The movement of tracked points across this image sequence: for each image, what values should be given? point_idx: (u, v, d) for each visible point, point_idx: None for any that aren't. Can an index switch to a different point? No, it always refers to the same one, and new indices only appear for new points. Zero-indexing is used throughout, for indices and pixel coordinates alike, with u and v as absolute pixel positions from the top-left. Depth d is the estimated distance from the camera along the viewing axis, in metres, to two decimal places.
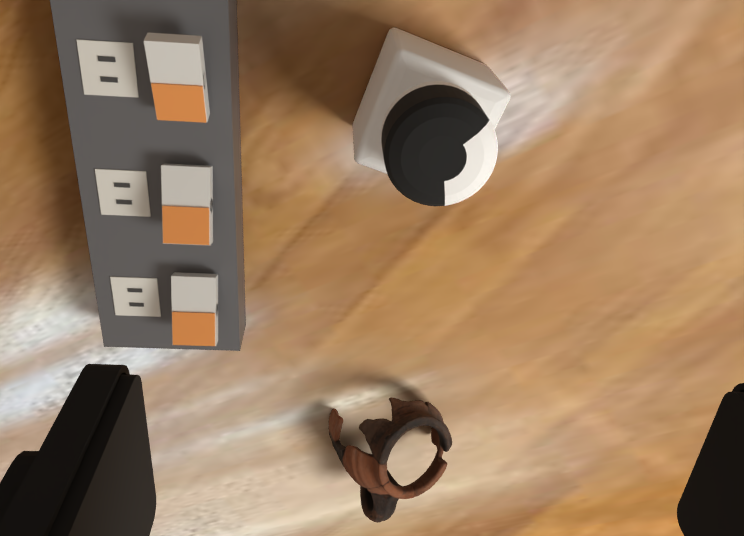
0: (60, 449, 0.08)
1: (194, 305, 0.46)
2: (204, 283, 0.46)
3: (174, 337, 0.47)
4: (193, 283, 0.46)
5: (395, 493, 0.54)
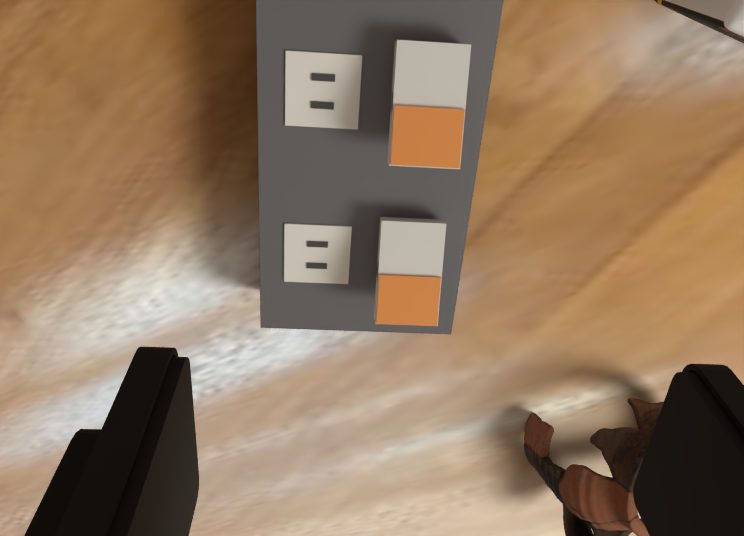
0: (123, 424, 0.08)
1: (412, 265, 0.31)
2: (429, 232, 0.31)
3: (380, 312, 0.32)
4: (413, 232, 0.31)
5: (642, 531, 0.39)
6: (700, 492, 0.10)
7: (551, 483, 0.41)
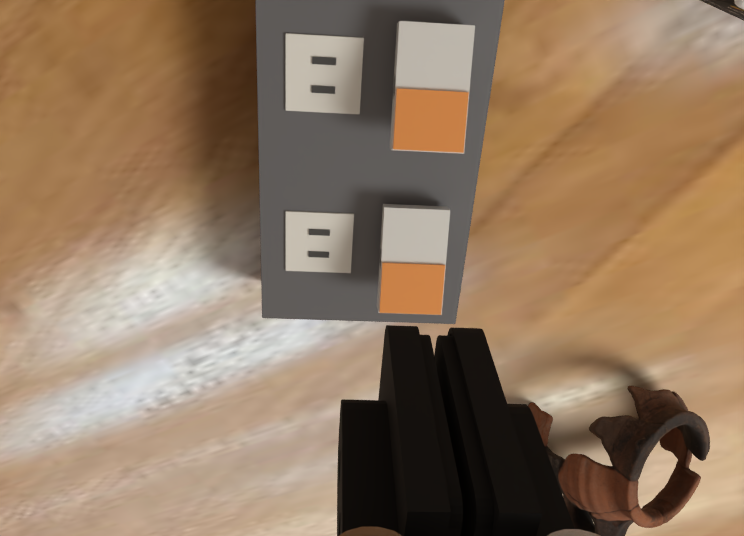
0: (411, 391, 0.09)
1: (415, 253, 0.31)
2: (433, 219, 0.30)
3: (383, 301, 0.31)
4: (416, 219, 0.30)
5: (643, 521, 0.38)
6: None
7: None
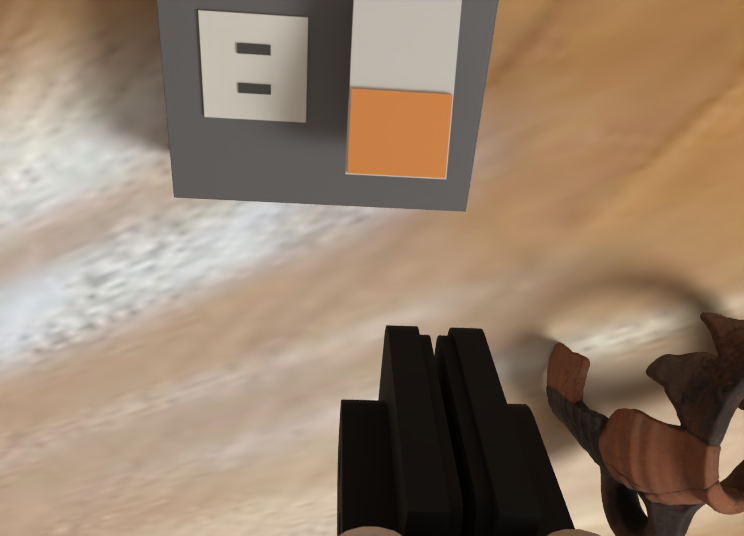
0: (411, 392, 0.09)
1: (404, 73, 0.19)
2: (433, 15, 0.19)
3: (352, 154, 0.19)
4: (407, 14, 0.19)
5: (723, 505, 0.26)
6: None
7: (587, 438, 0.29)
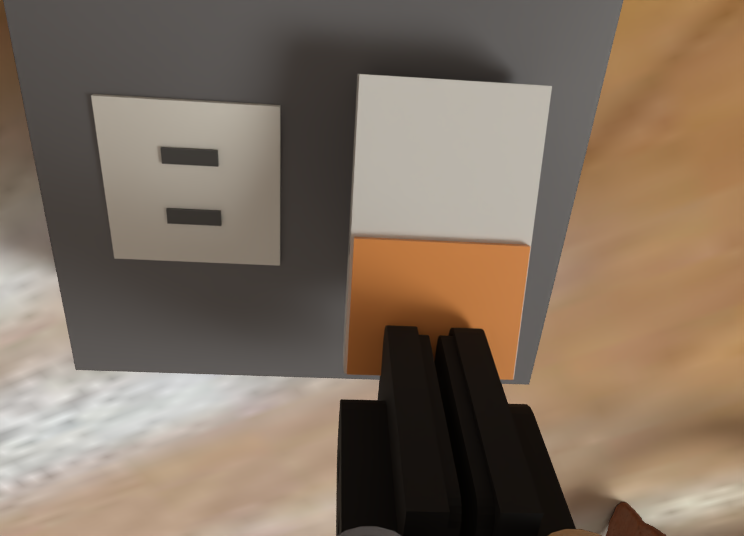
0: (410, 391, 0.09)
1: (447, 210, 0.11)
2: (500, 112, 0.10)
3: (356, 344, 0.11)
4: (453, 111, 0.10)
5: None
6: None
7: None
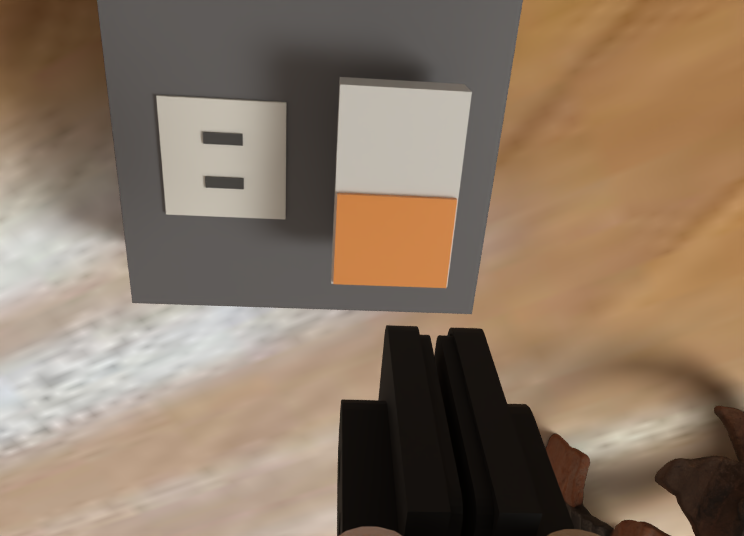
0: (411, 391, 0.09)
1: (401, 175, 0.16)
2: (436, 109, 0.15)
3: (339, 264, 0.17)
4: (404, 109, 0.15)
5: None
6: None
7: None
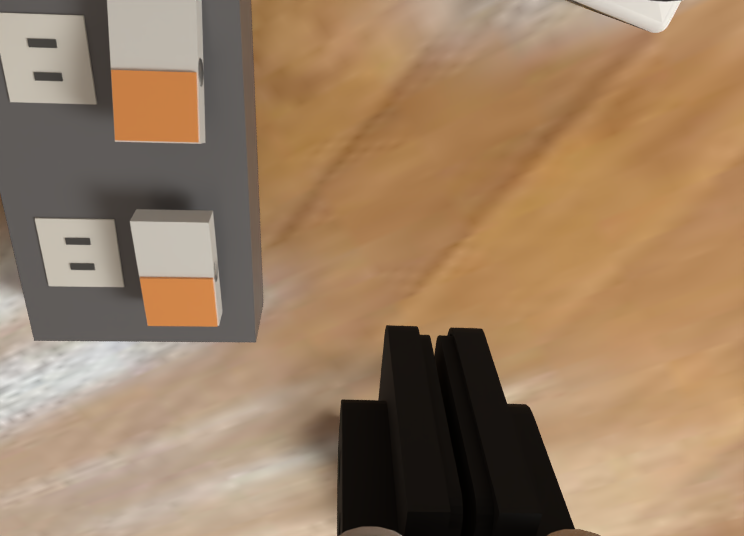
0: (411, 392, 0.09)
1: (176, 266, 0.27)
2: (190, 232, 0.26)
3: (149, 315, 0.28)
4: (170, 232, 0.26)
5: None
6: None
7: None
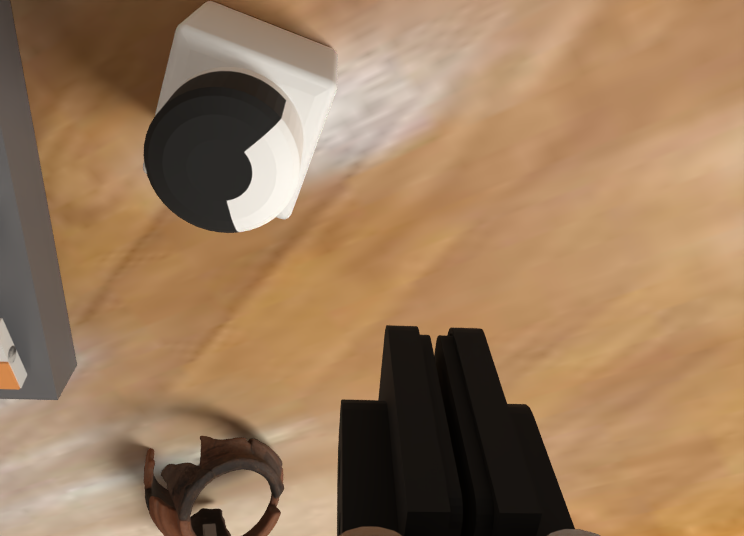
0: (411, 391, 0.09)
1: None
2: None
3: None
4: None
5: None
6: None
7: None
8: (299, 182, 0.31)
